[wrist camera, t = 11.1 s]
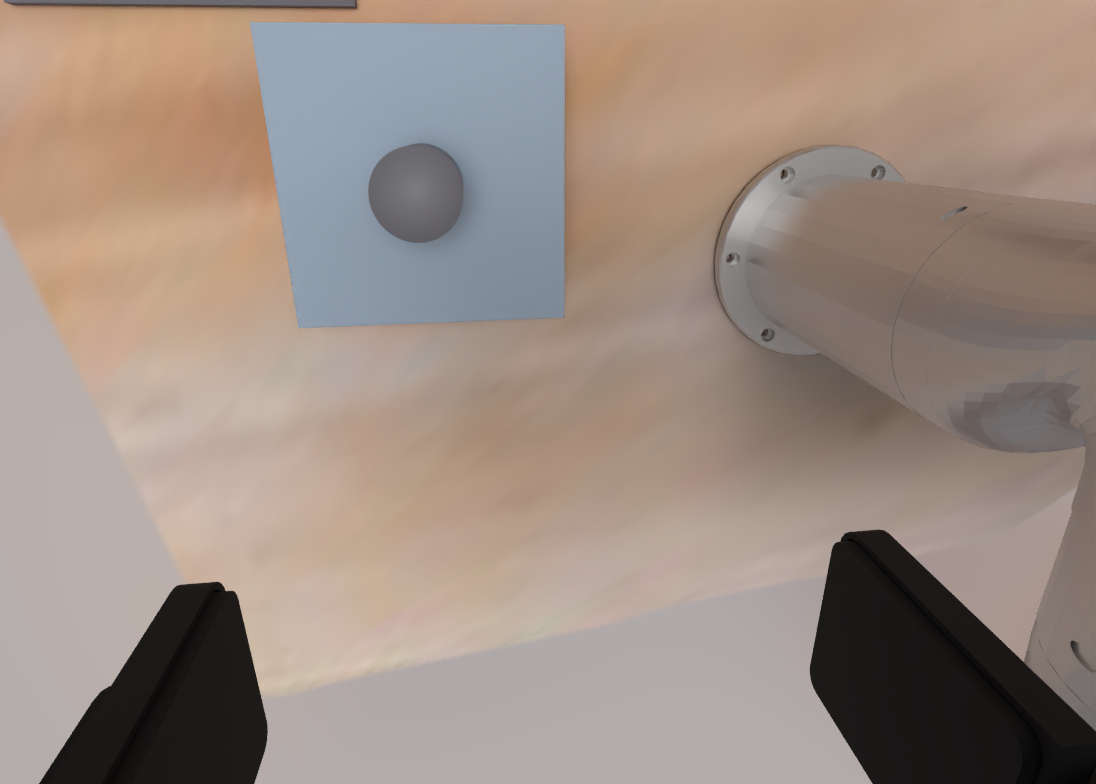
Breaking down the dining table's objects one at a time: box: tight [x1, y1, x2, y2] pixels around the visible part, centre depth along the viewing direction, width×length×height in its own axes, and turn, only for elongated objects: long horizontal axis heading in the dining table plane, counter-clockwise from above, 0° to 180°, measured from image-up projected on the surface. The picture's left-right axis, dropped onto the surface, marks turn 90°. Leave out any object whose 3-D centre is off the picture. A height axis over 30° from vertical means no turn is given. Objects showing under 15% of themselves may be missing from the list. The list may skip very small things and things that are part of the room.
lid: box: [250, 22, 565, 328], centre depth 28 cm, size 13×13×6 cm
